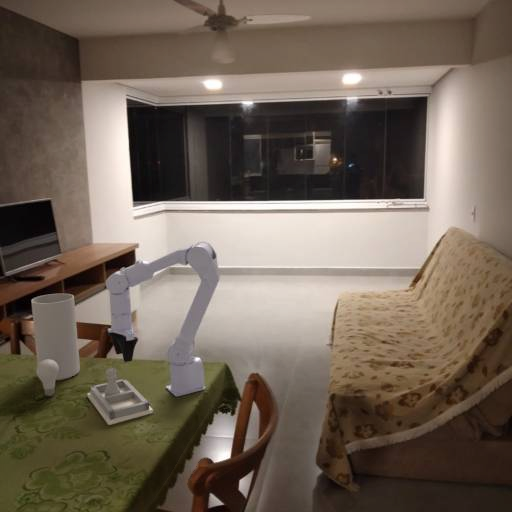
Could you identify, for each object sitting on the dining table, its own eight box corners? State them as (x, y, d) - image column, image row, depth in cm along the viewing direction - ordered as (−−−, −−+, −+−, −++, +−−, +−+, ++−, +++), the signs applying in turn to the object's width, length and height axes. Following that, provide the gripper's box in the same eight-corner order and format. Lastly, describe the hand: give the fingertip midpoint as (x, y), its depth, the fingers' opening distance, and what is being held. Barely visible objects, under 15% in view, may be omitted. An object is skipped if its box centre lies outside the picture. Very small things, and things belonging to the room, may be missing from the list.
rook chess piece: (107, 392, 153) (105, 365, 152) (122, 392, 153) (120, 365, 152) (102, 398, 149) (100, 371, 147) (118, 398, 149) (116, 371, 147)
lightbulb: (53, 401, 150) (50, 364, 148) (34, 399, 152) (30, 363, 150) (65, 392, 156) (62, 356, 154) (46, 391, 157) (43, 355, 156)
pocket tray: (128, 386, 159) (127, 377, 159) (153, 412, 142) (152, 402, 141) (87, 396, 153) (86, 386, 152) (108, 425, 136) (107, 414, 135)
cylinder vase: (72, 381, 164) (65, 303, 160) (32, 382, 164) (24, 303, 160) (85, 366, 176) (79, 293, 172) (48, 366, 177) (41, 293, 172)
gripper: (100, 309, 158) (103, 353, 160) (115, 320, 145) (118, 367, 148) (123, 305, 161) (126, 348, 164) (139, 316, 149) (142, 362, 151)
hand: (124, 357), depth 156 cm, fingers open, 7 cm apart
